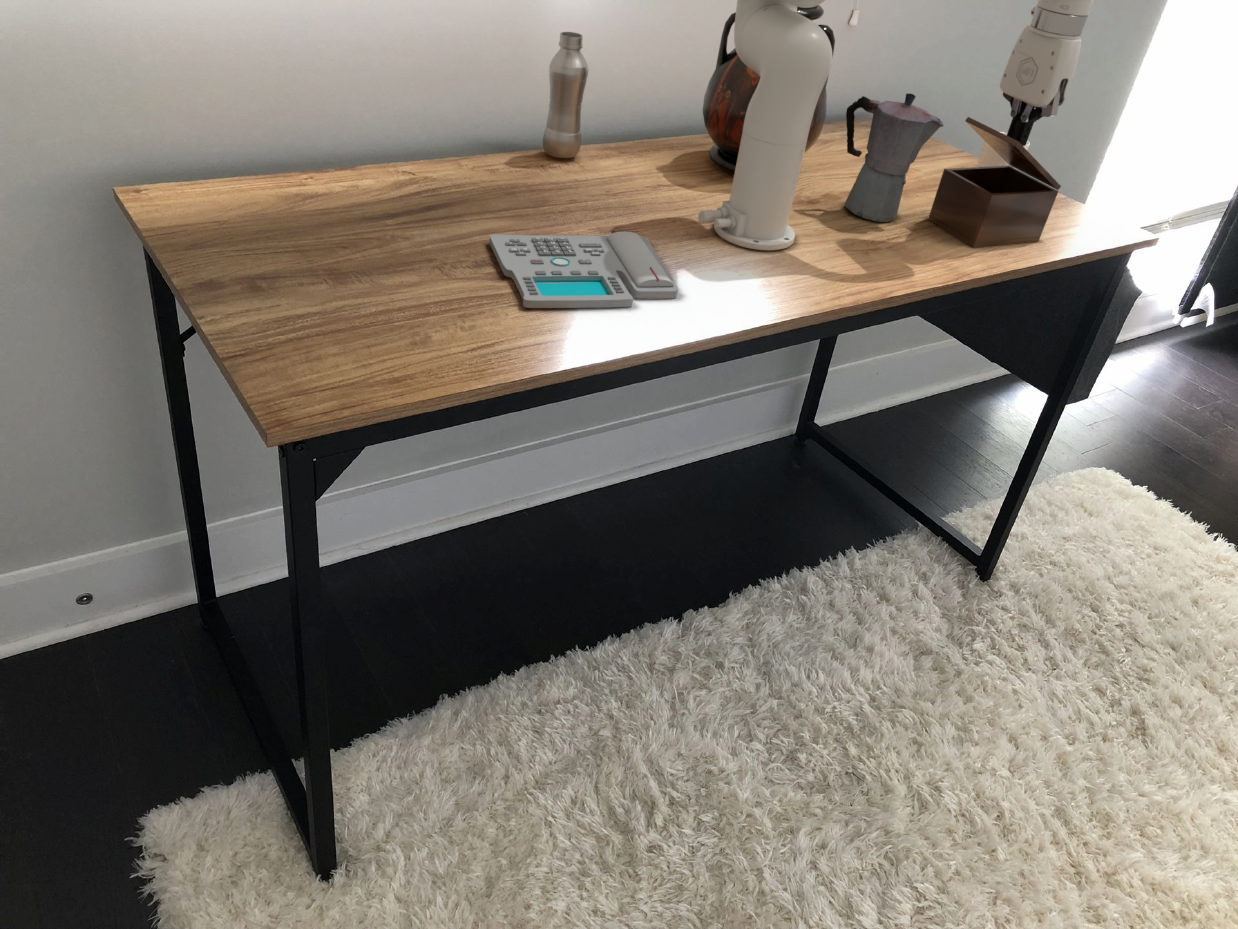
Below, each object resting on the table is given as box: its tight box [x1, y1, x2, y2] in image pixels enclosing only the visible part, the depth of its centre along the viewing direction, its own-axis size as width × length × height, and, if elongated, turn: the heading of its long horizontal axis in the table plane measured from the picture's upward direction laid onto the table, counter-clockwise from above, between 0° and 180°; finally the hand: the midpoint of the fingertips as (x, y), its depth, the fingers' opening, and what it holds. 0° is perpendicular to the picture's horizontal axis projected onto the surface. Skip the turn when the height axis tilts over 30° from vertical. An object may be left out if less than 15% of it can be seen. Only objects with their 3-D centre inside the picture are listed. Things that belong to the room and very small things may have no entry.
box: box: [927, 165, 1059, 248], centre depth 163 cm, size 15×12×9 cm
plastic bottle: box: [542, 31, 589, 159], centre depth 164 cm, size 6×7×20 cm
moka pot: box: [844, 93, 945, 223], centre depth 160 cm, size 10×15×20 cm, turn 78°
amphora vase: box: [702, 4, 836, 176], centre depth 169 cm, size 22×22×28 cm
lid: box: [964, 116, 1062, 191], centre depth 158 cm, size 15×12×1 cm
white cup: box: [976, 131, 1031, 170], centre depth 179 cm, size 8×8×10 cm
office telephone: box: [489, 231, 679, 309], centre depth 133 cm, size 23×3×20 cm
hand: (1014, 144), depth 157 cm, fingers closed
